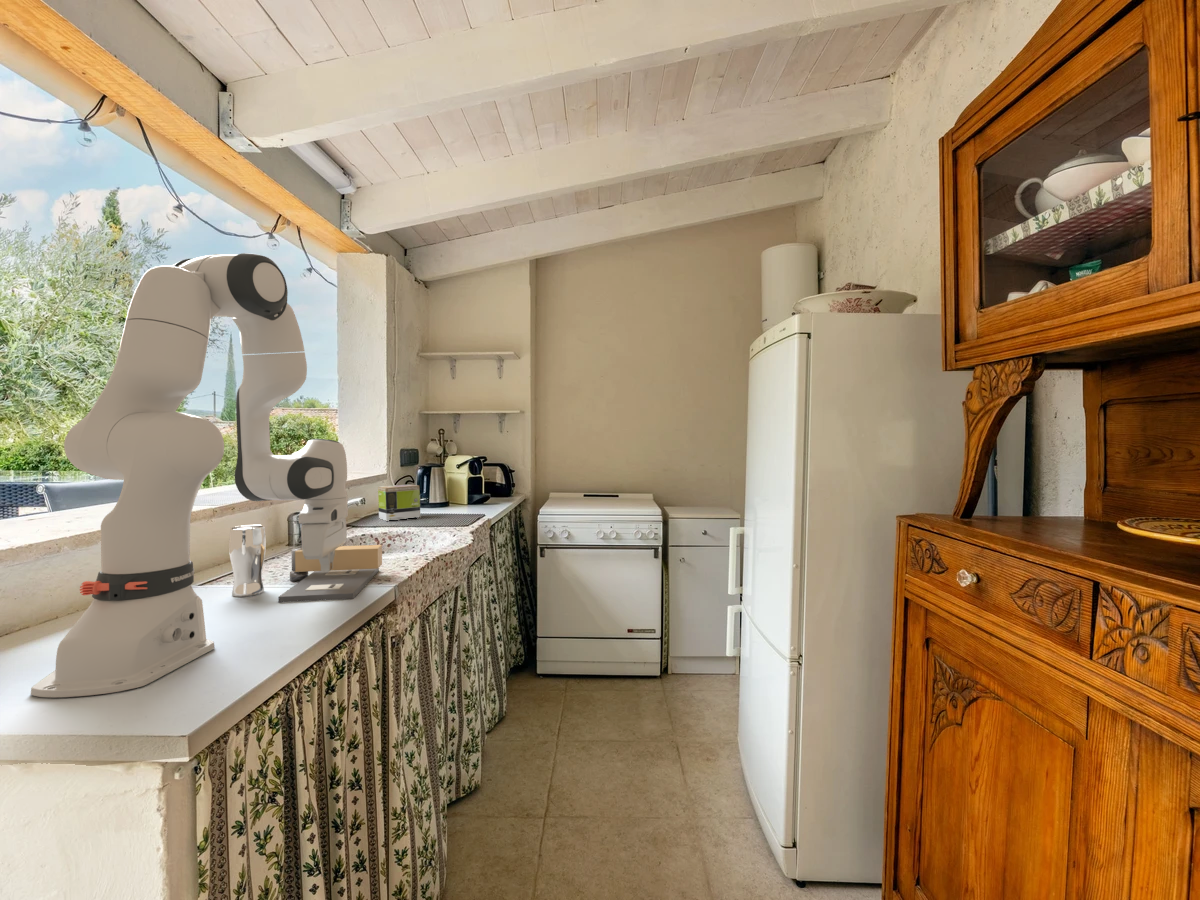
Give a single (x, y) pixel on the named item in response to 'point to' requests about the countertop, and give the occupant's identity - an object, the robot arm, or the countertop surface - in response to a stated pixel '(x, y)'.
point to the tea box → (399, 502)
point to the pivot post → (298, 576)
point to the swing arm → (341, 559)
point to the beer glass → (247, 559)
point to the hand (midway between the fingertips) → (327, 570)
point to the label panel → (329, 585)
